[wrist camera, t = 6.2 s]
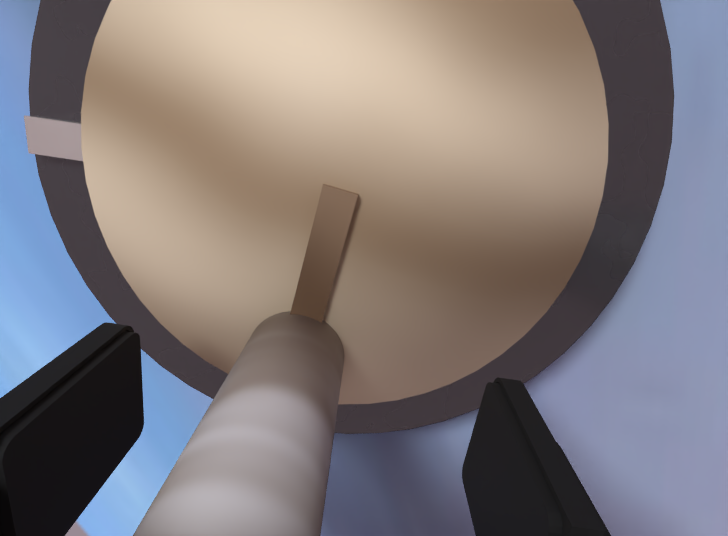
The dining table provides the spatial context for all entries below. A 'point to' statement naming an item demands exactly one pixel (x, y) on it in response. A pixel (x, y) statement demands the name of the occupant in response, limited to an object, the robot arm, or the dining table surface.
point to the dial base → (520, 362)
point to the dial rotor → (335, 212)
